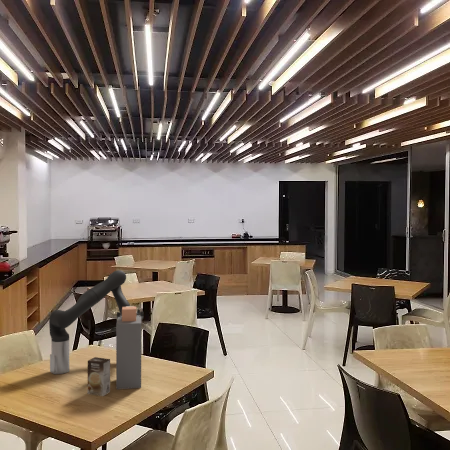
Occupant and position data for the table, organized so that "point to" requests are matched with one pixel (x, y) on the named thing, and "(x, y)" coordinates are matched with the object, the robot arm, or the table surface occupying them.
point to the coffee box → (98, 376)
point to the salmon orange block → (129, 313)
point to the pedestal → (128, 354)
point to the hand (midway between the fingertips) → (130, 311)
